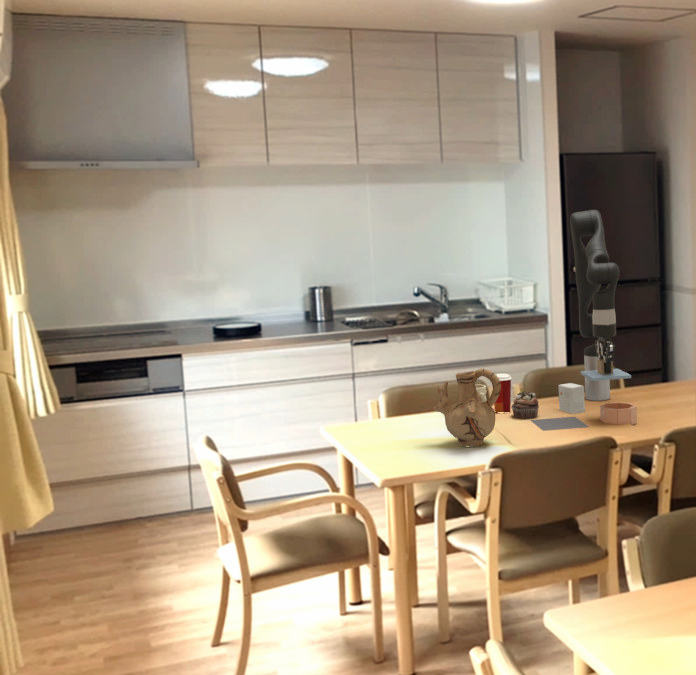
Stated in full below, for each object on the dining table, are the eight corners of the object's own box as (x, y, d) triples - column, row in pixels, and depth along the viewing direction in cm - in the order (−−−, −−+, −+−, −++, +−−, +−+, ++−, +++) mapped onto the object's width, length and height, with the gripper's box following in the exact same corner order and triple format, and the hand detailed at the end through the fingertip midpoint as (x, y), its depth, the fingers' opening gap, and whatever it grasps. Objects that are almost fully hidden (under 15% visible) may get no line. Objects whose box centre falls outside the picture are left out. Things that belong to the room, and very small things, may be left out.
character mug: (493, 423, 304) (492, 387, 303) (475, 425, 302) (474, 389, 301) (479, 417, 315) (478, 382, 313) (462, 419, 313) (460, 385, 311)
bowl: (597, 420, 298) (596, 403, 297) (628, 418, 299) (627, 401, 298) (608, 427, 287) (608, 410, 286) (640, 425, 288) (640, 407, 287)
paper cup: (512, 409, 324) (510, 372, 323) (514, 413, 317) (512, 376, 315) (491, 410, 325) (489, 373, 323) (492, 414, 318) (491, 377, 316)
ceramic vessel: (479, 434, 290) (475, 361, 287) (513, 445, 273) (510, 368, 270) (433, 443, 283) (429, 369, 279) (466, 455, 265) (461, 376, 262)
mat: (530, 422, 301) (530, 420, 301) (574, 419, 302) (574, 416, 302) (543, 433, 286) (543, 430, 285) (590, 429, 286) (590, 426, 286)
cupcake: (541, 416, 310) (540, 389, 308) (536, 422, 301) (534, 395, 300) (515, 415, 314) (514, 388, 312) (509, 421, 305) (508, 394, 304)
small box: (585, 414, 309) (584, 385, 307) (572, 416, 307) (571, 387, 305) (571, 410, 316) (570, 382, 315) (559, 412, 314) (558, 384, 313)
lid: (580, 374, 298) (580, 358, 297) (617, 371, 298) (617, 355, 297) (592, 381, 285) (592, 364, 284) (631, 378, 285) (630, 361, 284)
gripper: (586, 320, 296) (587, 369, 298) (600, 325, 282) (601, 376, 284) (607, 319, 296) (609, 367, 298) (622, 323, 282) (623, 375, 284)
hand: (605, 371), depth 291 cm, fingers closed on lid, 4 cm apart
